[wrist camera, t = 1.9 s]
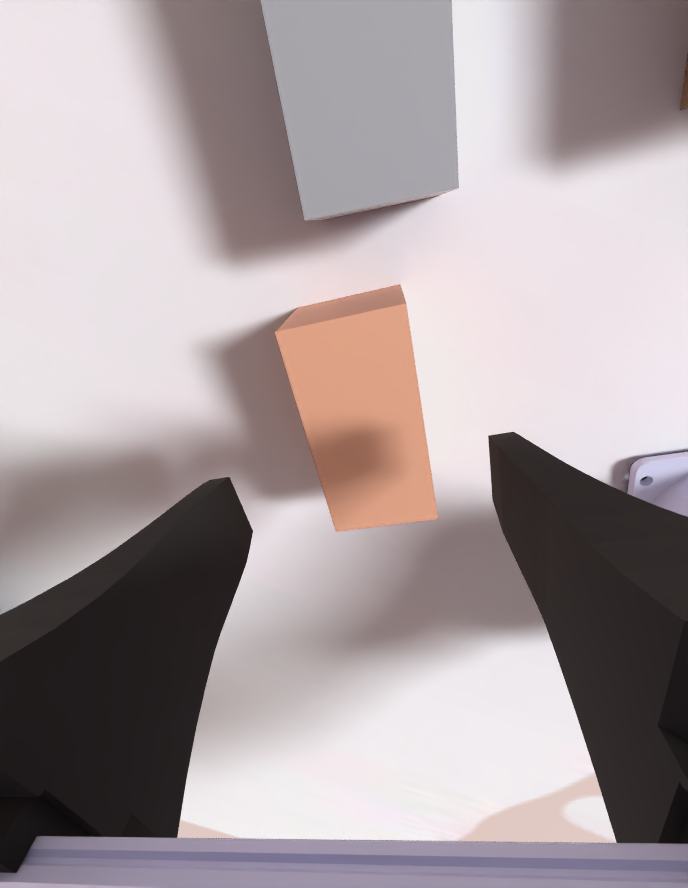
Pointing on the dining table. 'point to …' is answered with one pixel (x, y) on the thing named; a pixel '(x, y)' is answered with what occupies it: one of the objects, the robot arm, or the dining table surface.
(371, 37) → the slate-grey brick
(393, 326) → the terracotta brick
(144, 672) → the robot arm
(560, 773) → the dining table surface
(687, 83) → the walnut brick
